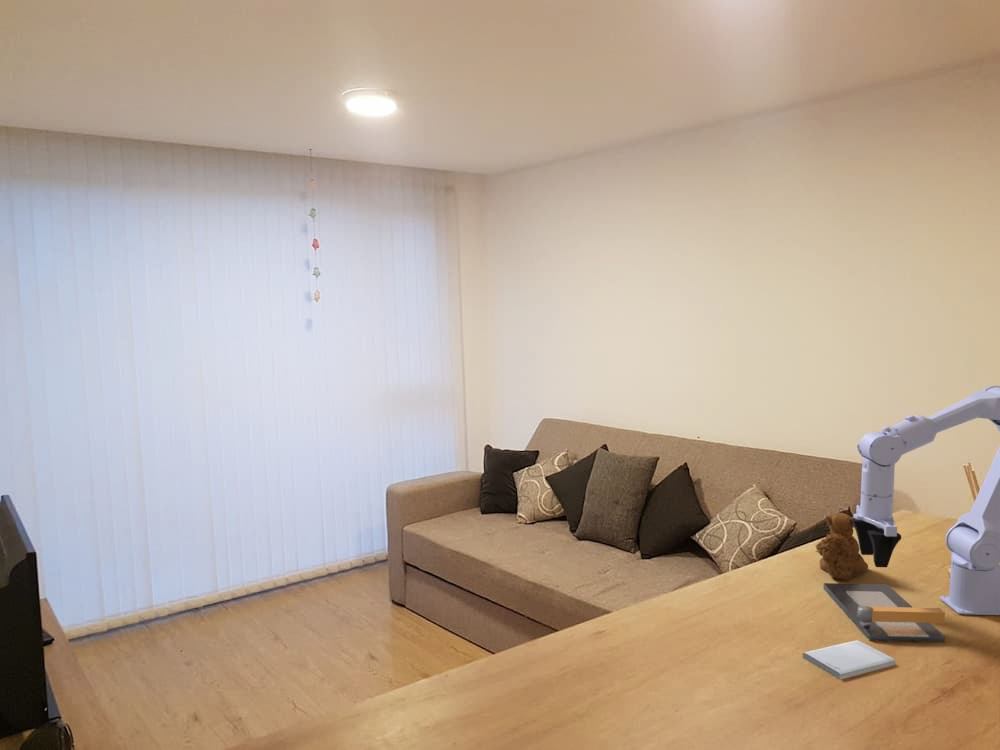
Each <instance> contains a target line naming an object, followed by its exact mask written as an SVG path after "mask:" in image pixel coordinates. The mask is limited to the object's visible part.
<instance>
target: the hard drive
mask: <svg viewBox="0 0 1000 750" xmlns="http://www.w3.org/2000/svg"><path fill="white" fill-rule="evenodd" d="M802 659H804V660H806V661H808V662H809V663H811V664H813V665H814V666H815V667H817V668H818V669H821V670H823V671H824V672H826V673H828V674H829V675H832V676H833V677H835V678H836V679H838V680H839V681H841V680H844V679H848V678H853V677H856V676H860V675H863V674H867V673H870V672H874V670H875V671H879V670H881V669H885V668H888V667H889V668H890V667H892V666H895V665H896V660H895V658H893V657H891V656H890V655H887V654H886V653H884V652H883V651H880V650H879V649H875V648H874V647H872V646H870V645H868V644H866V643H864V642H862V641H860V640H857V639H856V640H853V641H848V642H844V643H839V644H834V645H830V646H826V647H822V648H818V649H814V650H810V651H805V652H802Z"/></svg>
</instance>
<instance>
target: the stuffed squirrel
mask: <svg viewBox="0 0 1000 750" xmlns="http://www.w3.org/2000/svg"><path fill="white" fill-rule="evenodd" d="M852 518H854V516H852V517H851V515H849V514H847V513H844V512H837V513H834V514H832V516H829V515H824V517H823V519H824V520H825V522H826V523H827V524H826V526H828V527H829V532H830V533H828V534H826V536H825V537H824V538H823V539H821V541H819V542H818V543H816V544H815V548H816V551H815V550H814V551H815V553H818V554H819V556H821V558H820V559H819V567H820V570H823V571H825V572H826V573H827V574H829V576H830V577H832V578H833V579H835V580H836V579H837V580H841V581H848V582H849V581H851V579H853V577H855V576H862V575H865V574H866V573H867V572H868V570H869V569H868V568H869V566H868V563H867V562H866V561H865V559H864V558H863V555H862V554H861V553H859V552H860V547H859V541H858V539H857V538H856V537H854V525H853V523H852V522H851V519H852Z"/></svg>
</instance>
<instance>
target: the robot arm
mask: <svg viewBox="0 0 1000 750" xmlns="http://www.w3.org/2000/svg"><path fill="white" fill-rule="evenodd" d="M904 419H905V420H902V421H901V422H900V421H899V422H898V423H896V424H893V425H891V426H887V425H885V426H883V427H882V428H881V432H880V431H870V432H867V433H865V434H864V435H863V436H862V438H860V441H859V443H858V444H857V445H856V448H857V451H858V453H859V454H860V456H861V457H862V459H861V460H862V461H861V463H862V464H861V465H862V467H861V480H860V481H861V482H860V504H857V505H856V509H855V510H856V511H855V512H856V513H853V517H854V518H852V517H851V518H852V519H851V522H852V523H853V526H854V527H853V529H854V530H855V533H856V537H857V542H858V545H859V552H860V555H861V556H872V557H873V564H874V566H875V567H876V568H888V566H889V562H890V561H891V557H892V554H893V552H894V550H895V548H896V546H897V545H898V543H899V542H900V541H901V540H902V534H900V533H899V532H898V526H897V525H896V524H895V519H894V516H893V509H894V490H895V488H894V487H895V467H896V464H897V463H898V462H899V461H900V459H901V457H902V455H905V454H907V453H909V452H912V451H914V450H917V449H918V448H921V447H923V446H926V445H929V444H930V443H933V442H934V441H935V439H936V436H937V433H941V432H943V431H945V430H949V429H951V428H953V427H956V426H959V425H962V424H965V423H967V422H969V421H972V420H976V419H987V420H989V421H991V422H992V423H993V425H995V426H996V428H997V430H998V432H999V433H1000V385H991V386H987V387H986V388H984V389H980V390H977V391H974V392H973V393H972V394H970V395H969V396H967V397H965V398H964V399H962V400H959V401H958V402H955V403H953V404H951V405H949V406H947V407H946V408H943V409H941V410H940V411H938V412H935V413H932V415H929V416H927V417H926V416H923V415H921V414H920V415H919V414H916V415H913V414H909V415H906V416H905V417H904ZM945 545H946V547H947V549H948V550H949V551H950V552H951V553H950V554H951V555H950V559H951V560H950V561H951V562H950V577H949V578H950V579H949V592H948V593H949V595H940V596H939V599H940V600H941V601H943V602H944V603H945V604H946V605H947V606H949V607H950V608H951V609H952V610H953V611H955V612H956V613H957V614H959V615H972V616H973V615H975V616H978V615H979V616H1000V446H999V447H998V449H997V452H996V453H995V456H994V458H993V460H992V463H991V465H990V466H989V469H988V472H987V474H986V476H985V478H984V481H983V483H982V485H981V486H980V489H979V492H978V493H977V496H976V498H975V500H974V502H973V504H972V507H971V509H970V511H968V512H966V513H964V514H962V515H960V516H959V517H958V519H957V521H956V523H955V524H954V525H953V526H952V527H951V528H949V529H948V531H947V532H946V534H945Z"/></svg>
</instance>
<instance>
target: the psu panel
mask: <svg viewBox="0 0 1000 750" xmlns="http://www.w3.org/2000/svg"><path fill="white" fill-rule="evenodd" d="M823 590H824V591H825V592H826V593H827V595H829V597H830V598H831V599H832V600H833V601H834V603H835V604H836V605H837V606H838V607H839V608H840V609H841V610H842V611H843V613H844V614H845V615H846V616H847V617H848V619H850V620H851V621H852V623H853V624H854V625H855V626H856V628H858V629H859V631H860V630H861V634H862V635H864V636H865V638H867V639H869V640H878V641H877V642H902V641H906V642H907V641H909V642H907V643H913V642H915V643H939V642H946V635H944V634H943V633H942V632H941V631H940V630H939V629H938V628H937V627H936V626H934V625H933V623H912V622H864V621H860V620H859V619H858V618H857V615H858V606H869V607H911V608H914V607H913V606H912V605H911V604H910V603H909V602H907V601H906V600H905V599H904V598H903V597H902V596H901V595H900V594H898V592H896V591H895V590H894V589H893V588H892V587H891V586H889V585H888V584H879V583H878V584H875V583H836V582H835V583H832V582H830V583H828V582H824V583H823ZM869 640H868V641H869ZM879 640H880V641H879Z"/></svg>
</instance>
